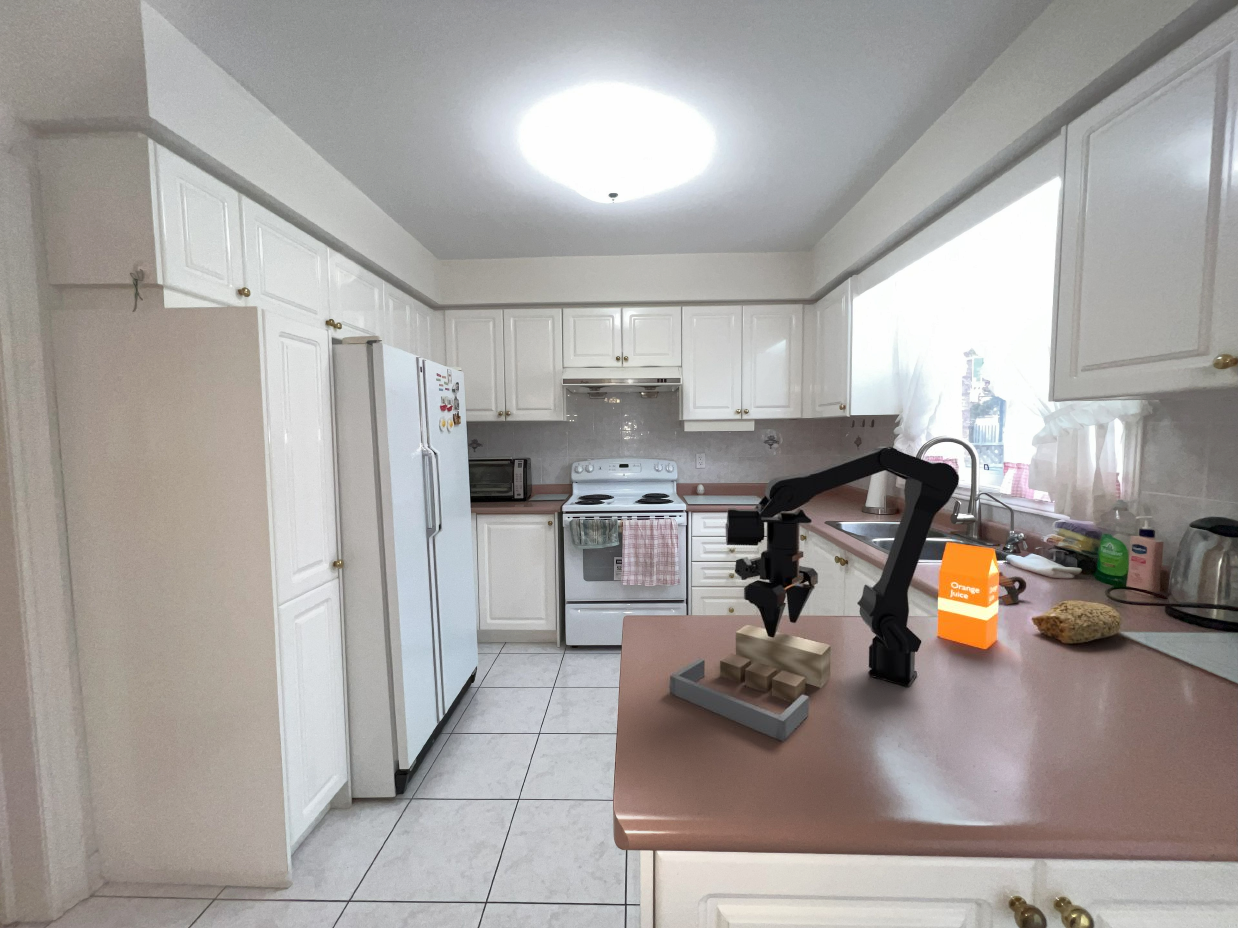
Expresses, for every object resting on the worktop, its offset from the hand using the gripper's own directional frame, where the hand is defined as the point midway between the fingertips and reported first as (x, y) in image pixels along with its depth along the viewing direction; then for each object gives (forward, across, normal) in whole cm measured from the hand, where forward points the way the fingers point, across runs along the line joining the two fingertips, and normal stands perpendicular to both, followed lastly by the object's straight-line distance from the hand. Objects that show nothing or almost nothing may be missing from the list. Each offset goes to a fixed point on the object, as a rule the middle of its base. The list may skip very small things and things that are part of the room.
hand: (782, 629), depth 92 cm
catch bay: (+8, +17, 0) cm, 19 cm away
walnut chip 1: (+8, +8, -5) cm, 12 cm away
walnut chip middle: (+8, +8, 0) cm, 11 cm away
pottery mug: (+8, -76, +25) cm, 81 cm away
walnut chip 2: (+8, +8, +5) cm, 12 cm away
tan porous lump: (+8, -59, +40) cm, 72 cm away
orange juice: (+8, -40, +23) cm, 47 cm away
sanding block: (+8, 0, 0) cm, 8 cm away
